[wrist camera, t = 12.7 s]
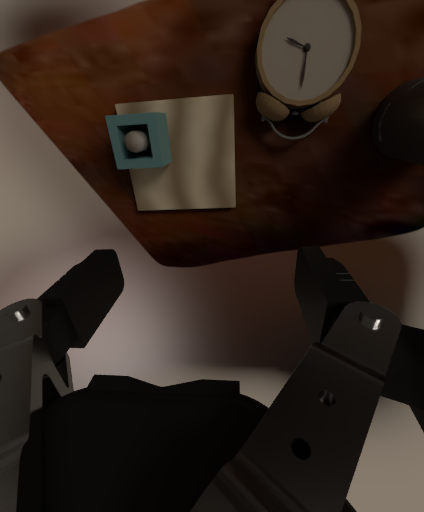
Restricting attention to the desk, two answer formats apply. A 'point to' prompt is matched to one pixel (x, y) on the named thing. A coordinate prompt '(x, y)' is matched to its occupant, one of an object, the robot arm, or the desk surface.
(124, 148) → the teal square frame
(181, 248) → the desk surface
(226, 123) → the post board
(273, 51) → the alarm clock
